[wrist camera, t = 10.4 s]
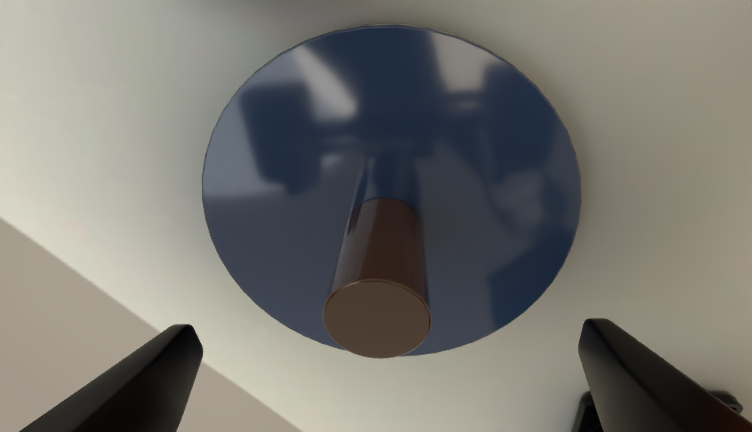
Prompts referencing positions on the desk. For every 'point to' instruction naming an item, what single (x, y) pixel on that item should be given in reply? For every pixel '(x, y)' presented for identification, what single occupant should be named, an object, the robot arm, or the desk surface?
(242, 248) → the lid
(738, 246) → the desk surface
